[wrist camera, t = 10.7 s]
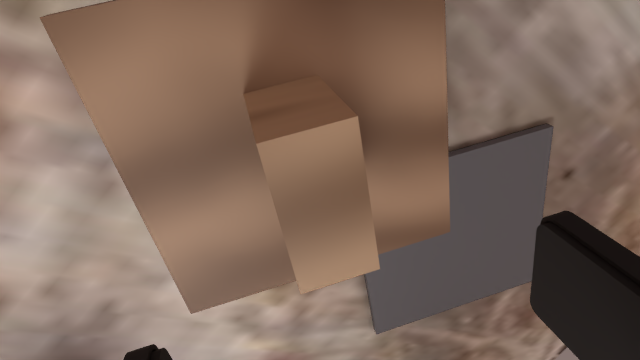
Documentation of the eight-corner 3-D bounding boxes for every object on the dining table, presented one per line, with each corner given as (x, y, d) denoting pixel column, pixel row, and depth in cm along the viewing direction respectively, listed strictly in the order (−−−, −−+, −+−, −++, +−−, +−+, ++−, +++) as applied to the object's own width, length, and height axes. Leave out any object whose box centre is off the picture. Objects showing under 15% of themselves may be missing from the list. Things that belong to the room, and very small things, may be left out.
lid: (440, 221, 22) (510, 298, 17) (191, 299, 21) (186, 409, 16) (430, -70, 15) (542, -87, 10) (50, 14, 14) (-47, 44, 8)
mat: (530, 275, 36) (534, 280, 36) (374, 328, 34) (376, 334, 34) (547, 123, 29) (553, 126, 28) (347, 182, 27) (350, 186, 26)
